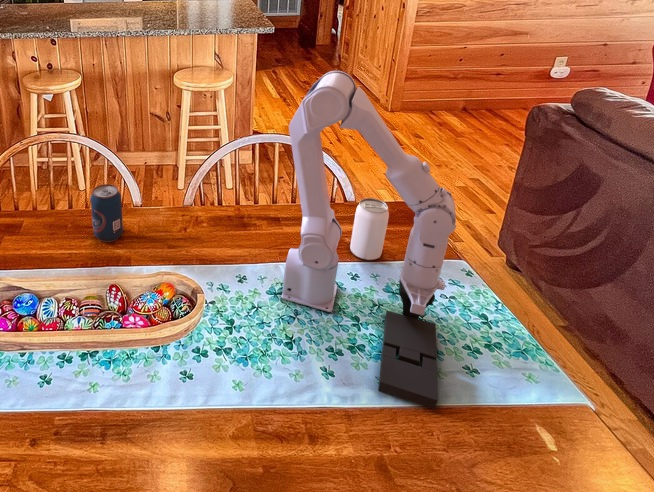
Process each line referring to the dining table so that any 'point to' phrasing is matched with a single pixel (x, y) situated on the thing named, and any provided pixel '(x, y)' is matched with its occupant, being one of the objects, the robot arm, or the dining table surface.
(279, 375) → the dining table surface
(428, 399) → the notch pad
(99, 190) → the soda can
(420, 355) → the tab pad
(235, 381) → the dining table surface
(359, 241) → the can
